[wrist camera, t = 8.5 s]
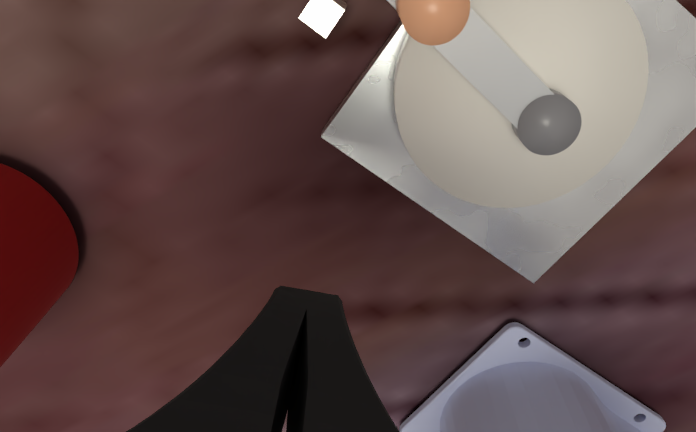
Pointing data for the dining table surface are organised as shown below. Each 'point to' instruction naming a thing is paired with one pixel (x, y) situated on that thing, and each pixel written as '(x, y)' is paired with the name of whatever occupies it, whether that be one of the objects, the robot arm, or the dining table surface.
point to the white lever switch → (517, 93)
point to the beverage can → (30, 256)
